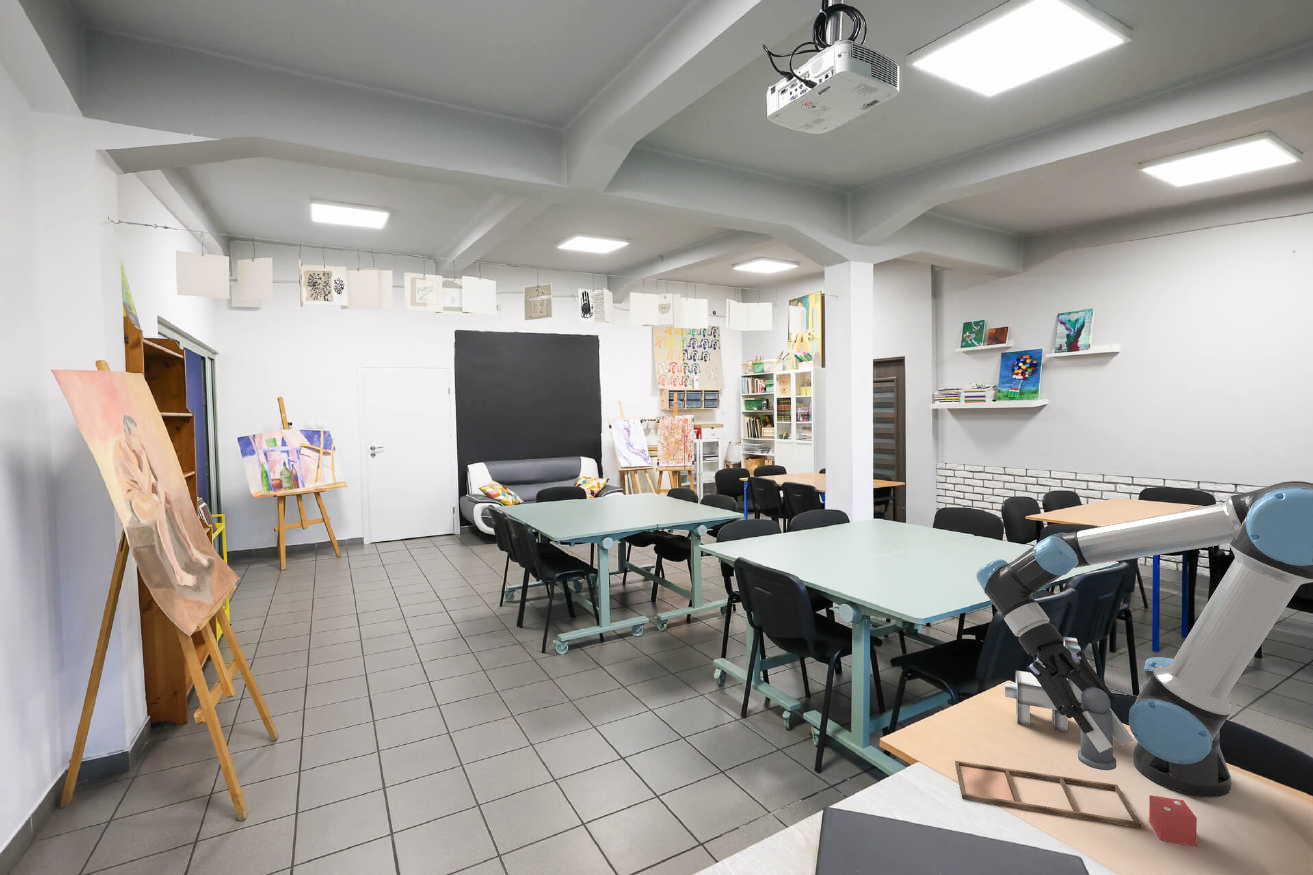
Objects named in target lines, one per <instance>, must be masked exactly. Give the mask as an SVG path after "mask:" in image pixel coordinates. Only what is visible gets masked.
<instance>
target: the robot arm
mask: <svg viewBox="0 0 1313 875" xmlns="http://www.w3.org/2000/svg"><path fill="white" fill-rule="evenodd" d="M1228 544H1229V547H1230V549H1231V551H1232V553H1233V555H1234V559H1233V560H1232V562H1231V564H1230V565H1229V567H1228V569H1227V571H1226V572H1225V574H1224V576H1223V577H1222V578H1221V581H1220V582H1219V583H1218V586H1217V587H1216V589H1215V590H1214V592H1213V594H1212V595H1211V597H1210V598H1209V600H1208V602H1207V603H1206V605H1205V607H1204V609H1203V610H1202V611H1201V613H1200V615H1199V616H1198V618H1197V620H1196V622H1195V623H1194V624H1193V626H1192V628H1191V630H1190V632H1189V633H1188V635H1187V637H1186V638H1185V639H1184V641H1183V643H1182V644H1181V646H1180V647H1179V649H1178V651H1177V653H1176V654H1175V656H1174V658H1172V657H1171V658H1169V657H1161V656H1158V657H1157V656H1155V657H1148V658H1147V659H1146V660H1145V662H1144V668H1143V671H1144V683H1143V686H1142V688H1141V690H1140V691H1139V694H1138V695H1137V698H1136V699H1135V702H1134V703H1133V704H1132V706H1131V707H1130V708H1129V711H1128V726H1129V730H1130V731H1131V733H1132V735H1133V736H1132V735H1131V734H1130V732H1129V731H1128V729H1126V727H1125V725H1124V724H1123V722H1122V719H1121V718H1120V716H1119V715H1118V714H1117V713H1116V711H1115V710H1114V707H1112V705H1110V708H1109V710H1111V711H1112V731H1113V737H1114V739H1115V740H1116V741H1117V743H1118V744H1119V746H1120V747H1121V746H1125V745H1127V744H1129V743H1131V742H1133V741H1135V740H1136V741H1137V743H1136V746H1135V748H1134V749H1133V764H1134V767H1135V768H1136V770H1137V771H1139V773H1141V774H1142V775H1143V776H1145V777H1146V778H1147V779H1149V780H1150V781H1153V782H1154V783H1157V784H1158V785H1161V786H1164V787H1165V788H1168V789H1171V790H1172V791H1173V790H1174V791H1176V792H1179V793H1183V794H1186V795H1187V794H1188V795H1191V796H1197V797H1205V798H1219V797H1222V796H1226V795H1227V794H1229V793H1230V792H1231V791H1232V777H1231V776H1232V775H1231V773H1230V771H1229V768H1228V766H1227V763H1226V760H1225V757H1224V755H1223V753H1222V750H1221V747H1220V731H1221V730H1220V729H1221V728H1222V727H1223V725H1224V724H1225V722H1226V720H1227V719H1228V717H1229V716H1230V714H1231V713H1232V711H1233V707H1232V706H1231V703H1230V701H1229V699H1228V698H1227V697H1228V696H1229V694H1230V692H1231V691H1232V689H1233V688H1234V686H1235V685H1236V683H1237V682H1238V680H1239V679H1240V677H1241V676H1242V674H1243V673H1244V671H1245V670H1246V668H1247V666H1248V665H1249V664H1250V662H1251V661H1252V659H1253V658H1254V656H1255V654H1256V653H1257V651H1258V650H1259V648H1260V647H1261V645H1262V644H1263V642H1264V640H1265V639H1266V637H1267V636H1268V635H1269V633H1270V631H1271V630H1272V628H1274V626H1275V624H1276V622H1277V621H1278V620H1279V618H1280V616H1281V615H1282V613H1283V612H1284V610H1285V609H1286V607H1287V606H1288V604H1289V603H1290V601H1291V599H1292V598H1293V596H1294V595H1295V593H1296V592H1297V591H1298V588H1299V587H1300V586H1301V585H1303V584H1304V585H1305V584H1309V583H1313V482H1309V481H1302V480H1291V481H1282V482H1278V483H1275V484H1271V485H1268V486H1264V487H1262V488H1259V489H1254V490H1252V491H1247V492H1243V493H1239V494H1233V495H1229V496H1228V497H1227V498H1226V499H1225V501H1224V502H1222V503H1216V504H1211V505H1207V506H1201V507H1196V508H1190V509H1185V510H1179V511H1175V512H1170V513H1166V514H1159V515H1156V516H1155V515H1154V516H1150V517H1143V518H1140V519H1134V520H1130V521H1128V520H1127V521H1124V522H1119V523H1118V522H1117V523H1113V524H1110V525H1109V524H1108V525H1104V526H1099V527H1094V528H1093V527H1092V528H1088V529H1082V530H1078V531H1072V532H1068V533H1067V532H1066V533H1065V532H1058V533H1054V534H1050V535H1049V536H1047V537H1046V538H1044V539H1042V540H1040V541H1039V542H1037V543H1035V544H1034V545H1033V546H1032V547H1031V548H1029V549H1028V550H1026V551H1025V552H1023V553H1022V554H1021V555H1019V556H1018V557H1016V558H1015V559H1014V560H1013V561H1011V562H1008V561H1006V560H1005V559H1002V558H1001V559H995V560H992V561H990V562H989V563H986V564H984V565H983V566H982V567H980V568H979V569H978V570H977V572H976V574H975V575H976V576H975V577H976V580H977V581H978V583H979V585H980V586H981V588H982V590H983V593H984V594H985V595H986V596H987V597H988V599H989V601H991V603H992V604H993V605H994V607H995V608H996V610H997V612H998V613H999V614H1000V615H1001V617H1002V619H1003V620H1004V621H1005V623H1006V624H1007V625H1008V627H1009V629H1010V630H1011V632H1012V634H1014V636H1015V637H1018V642H1019V644H1020V645H1021V646H1022V648H1023V650H1024V651H1025V652H1026V654H1027V655H1028V656H1032V657H1033V662H1032V663H1031V664H1029V665H1028V666H1026V669H1027V670H1028V671H1027V672H1029V673H1031V674H1032V675H1033V676H1034V677H1036V679H1037V680H1038V682H1039V683H1040V685H1041V686H1042V688H1043V689H1044V691H1045V692H1046V694H1047V695H1048V697H1049V698H1050V700H1051V701H1052V703H1053V704H1054V706H1055V707H1056V709H1057V710H1058V712H1059V713H1060V714H1061V715H1066V717H1067V718H1068V719H1072V718H1073V719H1074V721H1075V723H1076V724H1077V725H1078V728H1081V730H1082V731H1083V732H1084V733H1085V734H1087V736H1088V737H1089V738H1090V740H1091V741H1092V743H1093V744H1094V746H1095V747H1096V749H1097V750H1098V751H1099V753H1100V752H1103V751H1105V750H1107V749H1109V748H1111V747H1112V745H1111V744H1110V742H1109V741H1108V740H1107V738H1106V737H1105V735H1104V734H1103V732H1102V731H1101V730H1100V728H1099V727H1098V725H1097V724H1096V723H1095V721H1094V720H1093V718H1092V717H1091V716H1090V714H1089V713H1088V711H1085V712H1083V713H1082V708H1081V706H1080V705H1081V703H1079V702H1078V700H1077V698H1076V696H1075V694H1074V692H1073V690H1072V688H1071V686H1070V684H1069V682H1068V680H1067V679H1070V680H1071V681H1072V682H1073V683H1074V684H1075V685H1076V686H1077V687H1078V688H1079V689H1080V690H1081V691H1082V692H1083V691H1084V690H1085V689H1087V688H1092V687H1094V688H1098V689H1101V690H1102V691H1104V692H1105V693H1106V694H1107V695H1108V697H1109V699H1110V702H1111V704H1112V703H1114V700H1115V696H1114V694H1113V693H1112V691H1111V690H1110V689H1109V688H1108V687H1107V685H1106V684H1105V682H1103V680H1102V678H1101V677H1100V676H1099V674H1098V673H1097V672H1096V671H1095V669H1094V668H1093V666H1092V665H1090V664H1091V663H1090V664H1089V663H1088V661H1087V660H1088V659H1087V656H1086V655H1085V653H1084V652H1083V651H1082V650H1081V651H1079V652H1077V653H1074V652H1070V650H1069V649H1067V648H1066V647H1065V646H1064V636H1063V635H1061V633H1060V632H1059V630H1058V628H1056V626H1055V625H1054V624H1053V623H1050V617H1048V615H1047V614H1046V612H1045V611H1044V609H1043V608H1042V607H1041V605H1039V603H1038V601H1036V600H1035V598H1034V596H1033V595H1034V594H1036V593H1038V592H1039V591H1040V590H1042V589H1043V588H1046V587H1047V586H1048V585H1050V584H1051V583H1054V582H1055V581H1056V580H1058V579H1060V578H1062V576H1065V575H1067V574H1068V573H1070V572H1071V571H1072V570H1073V569H1074V568H1075V569H1077V568H1083V567H1088V566H1093V565H1099V564H1106V563H1113V562H1120V561H1125V560H1132V559H1138V558H1144V557H1151V556H1159V555H1165V554H1171V553H1177V552H1183V551H1190V550H1197V549H1202V548H1210V547H1215V546H1222V545H1228ZM1073 669H1074V670H1073ZM1072 670H1073V671H1072ZM1071 671H1072V672H1071ZM1063 706H1064V707H1063ZM1133 737H1134V738H1135V739H1134V738H1133Z"/></svg>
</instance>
